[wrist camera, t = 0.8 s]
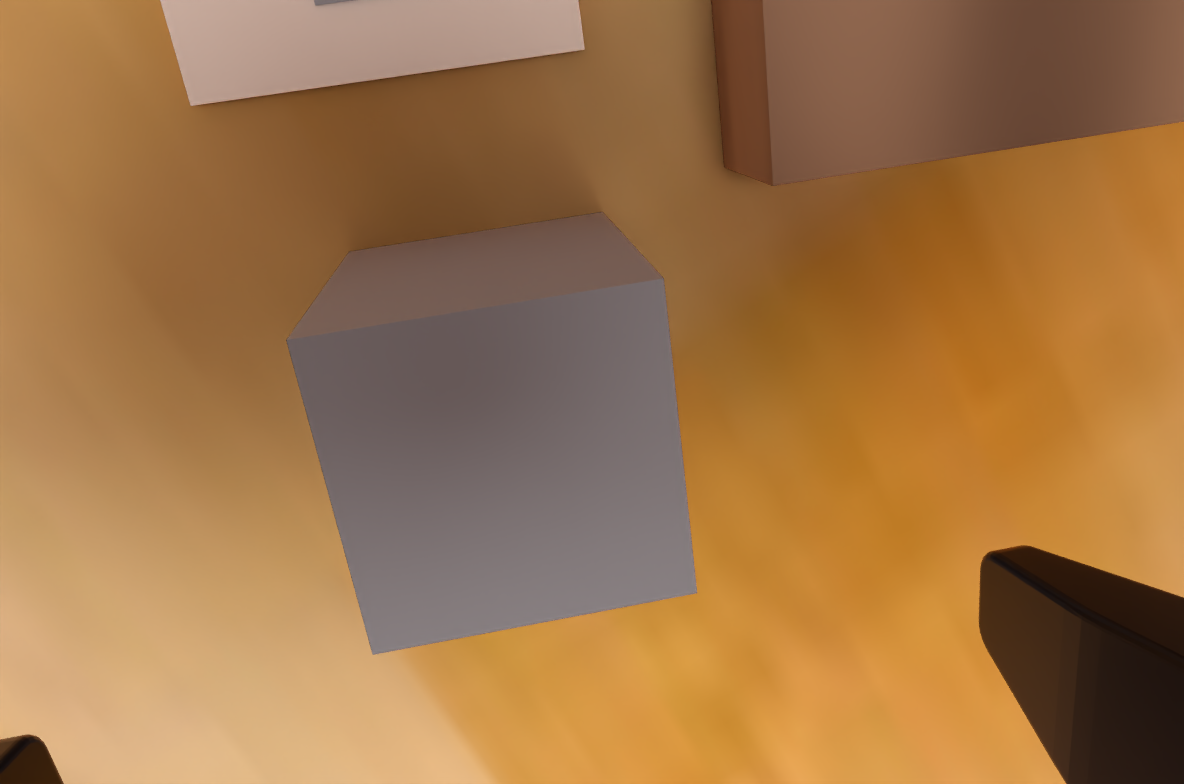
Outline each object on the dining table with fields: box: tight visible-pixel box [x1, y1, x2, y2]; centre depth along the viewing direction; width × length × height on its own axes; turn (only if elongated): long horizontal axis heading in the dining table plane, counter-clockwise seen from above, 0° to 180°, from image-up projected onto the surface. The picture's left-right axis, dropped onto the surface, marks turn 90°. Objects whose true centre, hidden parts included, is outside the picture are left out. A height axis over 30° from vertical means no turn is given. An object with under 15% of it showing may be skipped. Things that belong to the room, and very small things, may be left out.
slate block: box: [286, 212, 697, 655], centre depth 15 cm, size 5×5×6 cm
